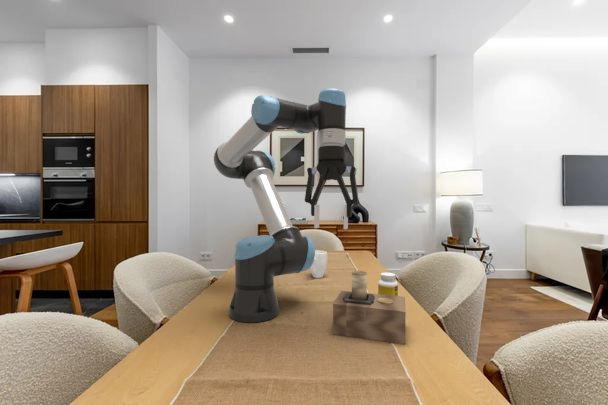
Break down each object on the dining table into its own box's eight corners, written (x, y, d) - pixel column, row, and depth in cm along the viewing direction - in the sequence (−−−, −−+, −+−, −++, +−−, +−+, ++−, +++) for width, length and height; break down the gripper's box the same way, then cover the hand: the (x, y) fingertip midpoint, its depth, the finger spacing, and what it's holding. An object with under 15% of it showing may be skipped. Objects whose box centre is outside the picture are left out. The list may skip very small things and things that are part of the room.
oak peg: (350, 303, 83) (350, 273, 83) (352, 298, 87) (353, 270, 87) (365, 304, 82) (365, 274, 82) (367, 300, 86) (367, 271, 86)
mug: (314, 273, 145) (314, 249, 145) (330, 276, 141) (330, 251, 141) (301, 279, 135) (301, 253, 135) (318, 282, 131) (318, 255, 130)
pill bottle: (398, 311, 97) (398, 276, 97) (378, 310, 98) (378, 275, 98) (396, 305, 103) (397, 272, 103) (377, 303, 104) (378, 271, 104)
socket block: (332, 334, 81) (333, 301, 81) (341, 317, 92) (341, 288, 92) (405, 344, 75) (405, 309, 75) (404, 325, 87) (404, 294, 87)
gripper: (292, 146, 86) (292, 228, 86) (367, 142, 80) (366, 231, 80) (301, 150, 93) (300, 225, 93) (370, 147, 87) (369, 228, 87)
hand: (331, 228), depth 87 cm, fingers open, 8 cm apart
